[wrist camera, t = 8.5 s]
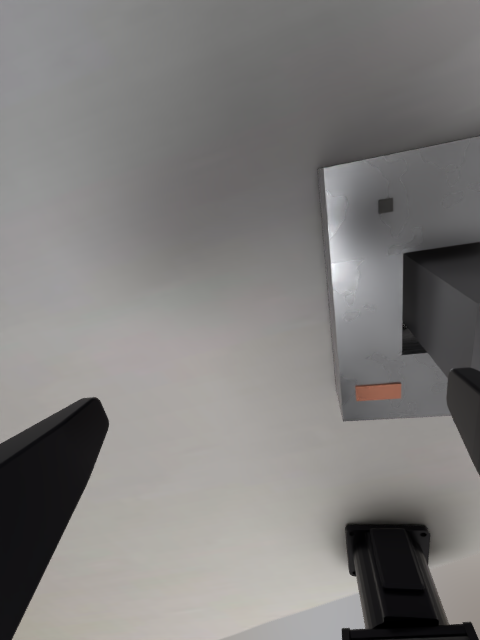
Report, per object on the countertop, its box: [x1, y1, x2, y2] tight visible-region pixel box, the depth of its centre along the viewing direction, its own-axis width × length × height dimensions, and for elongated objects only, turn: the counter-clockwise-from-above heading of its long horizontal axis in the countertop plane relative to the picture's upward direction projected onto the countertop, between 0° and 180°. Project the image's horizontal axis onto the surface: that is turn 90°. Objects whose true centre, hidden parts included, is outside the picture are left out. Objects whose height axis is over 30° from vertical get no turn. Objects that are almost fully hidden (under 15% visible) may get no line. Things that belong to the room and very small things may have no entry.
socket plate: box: [317, 136, 480, 421], centre depth 17 cm, size 14×12×3 cm
